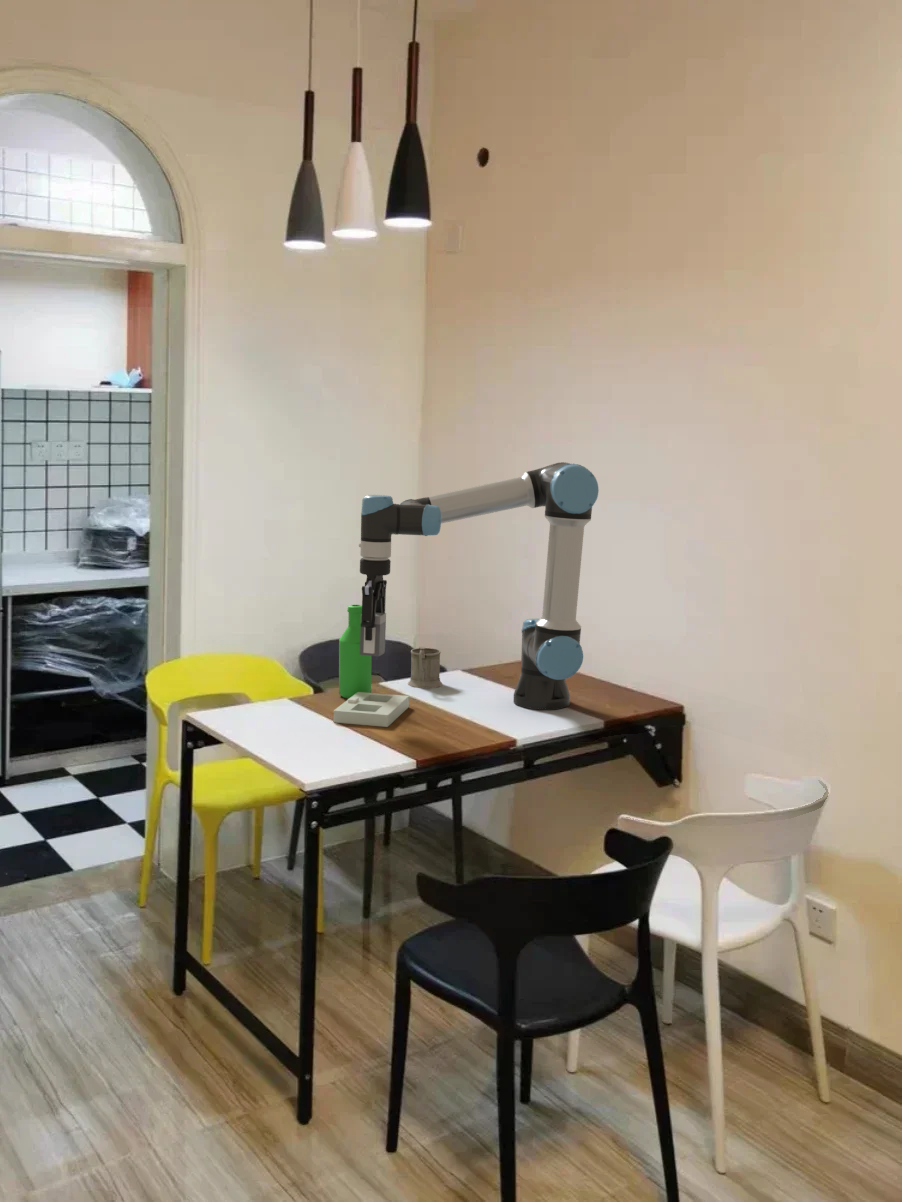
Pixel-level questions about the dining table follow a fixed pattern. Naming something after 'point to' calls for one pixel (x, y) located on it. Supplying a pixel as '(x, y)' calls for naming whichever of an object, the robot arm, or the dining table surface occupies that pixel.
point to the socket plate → (371, 709)
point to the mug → (425, 668)
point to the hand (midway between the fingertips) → (372, 650)
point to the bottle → (353, 658)
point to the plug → (376, 635)
